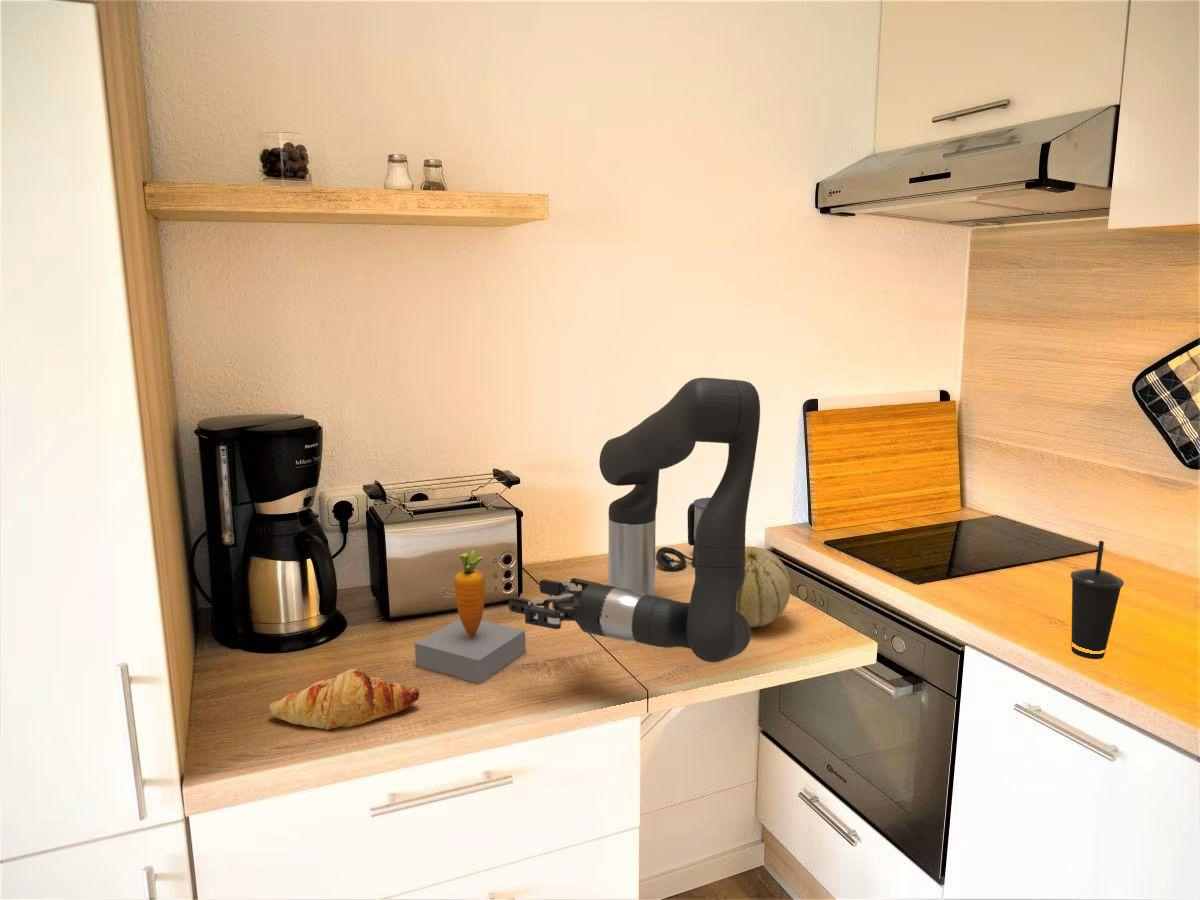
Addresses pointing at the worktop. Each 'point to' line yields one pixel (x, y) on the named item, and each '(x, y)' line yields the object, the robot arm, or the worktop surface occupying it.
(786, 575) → the cantaloupe
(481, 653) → the base block
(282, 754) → the worktop surface
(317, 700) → the croissant
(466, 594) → the carrot
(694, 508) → the milk frother
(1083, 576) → the drinking cup
